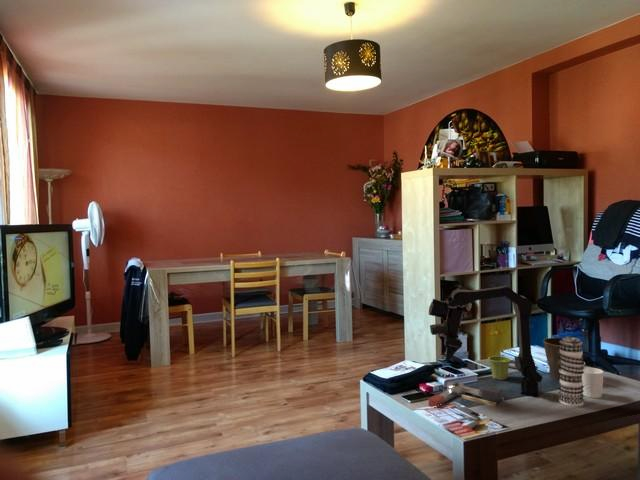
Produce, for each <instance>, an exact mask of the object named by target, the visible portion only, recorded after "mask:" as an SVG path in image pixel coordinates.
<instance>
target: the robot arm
mask: <svg viewBox="0 0 640 480" xmlns="http://www.w3.org/2000/svg"><path fill="white" fill-rule="evenodd" d="M503 297H504V298H506V299H507V300H508V301H510V302H511V303H512V307H513V312H514V313H515V316H516V318H517V334H518V349H519V350H518V351H519V352H518V355H516V356H515V355H514V360H515V364H514V366H516V367H517V369H516V370H517V371H519V373H520V374H521V376H522V378H521V381H520V394H521V395H525V396H529V397H533V398H537V397H539V396H540V395H541V394H543V391H541V388H542V385H541V384H542V383H541V382H542V380H543V376H542V374H540V373H539V372H538V371H537V368H536V366H537V365H536V362H535V360H534V358H533V355H532V346H531V345H532V344H531V343H532V342H531V325H530V318H531V315H532V314H533V313H532V312H533V302H532V300H531V299H530V298H527V297H525V296H524V295H520V294H518V293H517V292H515V291H514V290H513V289H512V288H510V287H509V286H507V285H502V286H501V285H500V286H496V287H495V286H494V287H489V288H481V289H473V290H472V289H471V290H470V289H454V290H453V291H452V292H451V294H450V295H449V296H448V297H447V298H446V299H445V300H439V299H436V298H432V301H431V302H430V304H429V307H428V316H432V317H437V318H441V319H444V317H446V320H445V319H444V321H443V323H434V324H430V325H429V328H430V329H429V330H430V333H431V335H433V336H435V335H437V336H438V338H439V340H440V354H441V355H445V361H447V362H449V360H451V359H452V357H453V356H454V355H455V354H456V353H457V352H458V351H459V350H460V349H461V348H462V346H463V342H462V340H461V339H460V337H459V336H460V335H459V330H460V329H461V328H462V325H461V322H462V320H463V319H462V318H463V314H464V313H467V314H469V312H470V311H469V310H468V308H467V306H466V305H469V304H472V303H473V302H476V301H482V300H488V299H495V298H496V299H497V298H503ZM535 365H536V366H535Z"/></svg>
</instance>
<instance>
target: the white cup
mask: <svg viewBox="0 0 640 480" xmlns="http://www.w3.org/2000/svg"><path fill="white" fill-rule="evenodd" d="M582 371H583V372H584V373H583V375H582V381H583V386H584V388H583V391H584V392H583V395H584V397H586V398H587V397H588V398H592V399H599V398H602V396H603V388H604V371H603V370H602V369H600V368H596V367H584V369H583V370H582Z"/></svg>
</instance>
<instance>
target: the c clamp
mask: <svg viewBox="0 0 640 480" xmlns="http://www.w3.org/2000/svg"><path fill="white" fill-rule="evenodd" d="M512 364H514V365H512ZM537 368H538V366H537V365H536V369H537ZM508 369H512V370H518V369H517V367H516V366H515V359H511V361H510V363H509V367H508Z"/></svg>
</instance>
